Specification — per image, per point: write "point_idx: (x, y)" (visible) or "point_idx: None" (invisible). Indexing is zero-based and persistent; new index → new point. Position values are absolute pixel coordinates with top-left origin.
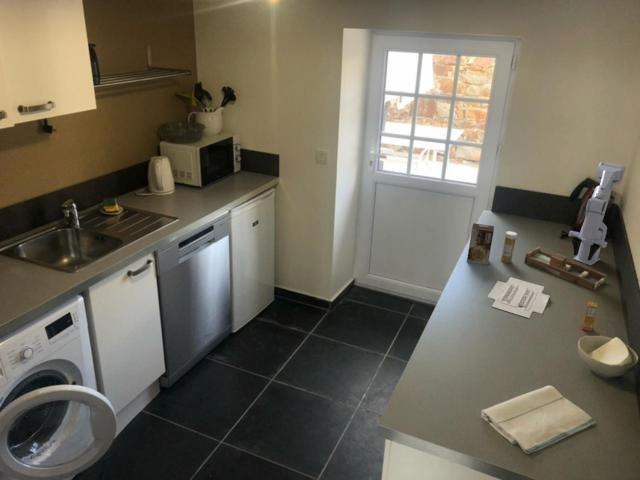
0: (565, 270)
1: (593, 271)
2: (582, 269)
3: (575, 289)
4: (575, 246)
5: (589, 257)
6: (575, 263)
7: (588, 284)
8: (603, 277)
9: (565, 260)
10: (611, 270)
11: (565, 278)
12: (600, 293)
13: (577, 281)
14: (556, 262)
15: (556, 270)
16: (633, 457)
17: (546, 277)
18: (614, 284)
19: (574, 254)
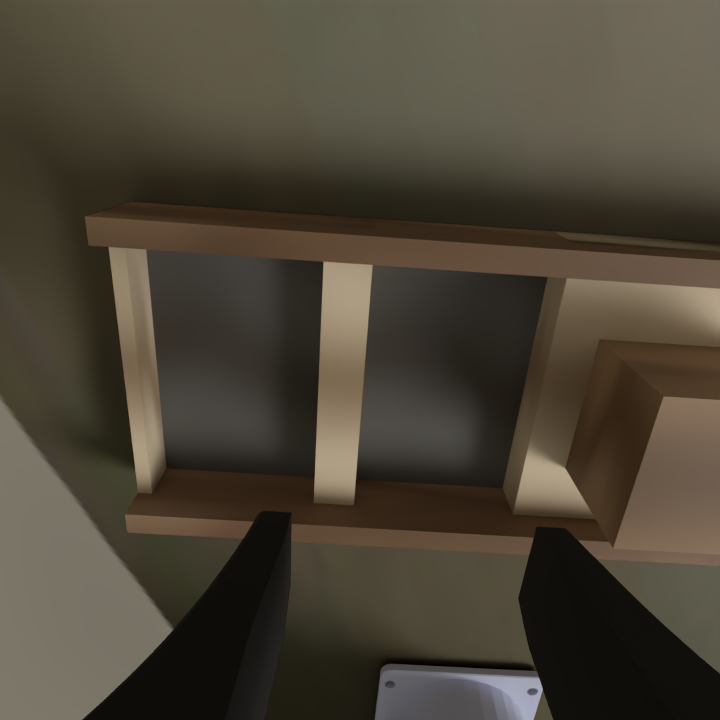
0: (535, 381)
1: None
2: (387, 508)
3: (275, 28)
4: (700, 709)
5: (247, 552)
6: (487, 550)
7: (182, 212)
8: (152, 494)
9: (614, 478)
10: None
11: (476, 226)
12: (34, 185)
13: (327, 221)
14: (706, 371)
15: (634, 247)
16: None
17: (689, 67)
18: (73, 493)
19: (566, 537)
